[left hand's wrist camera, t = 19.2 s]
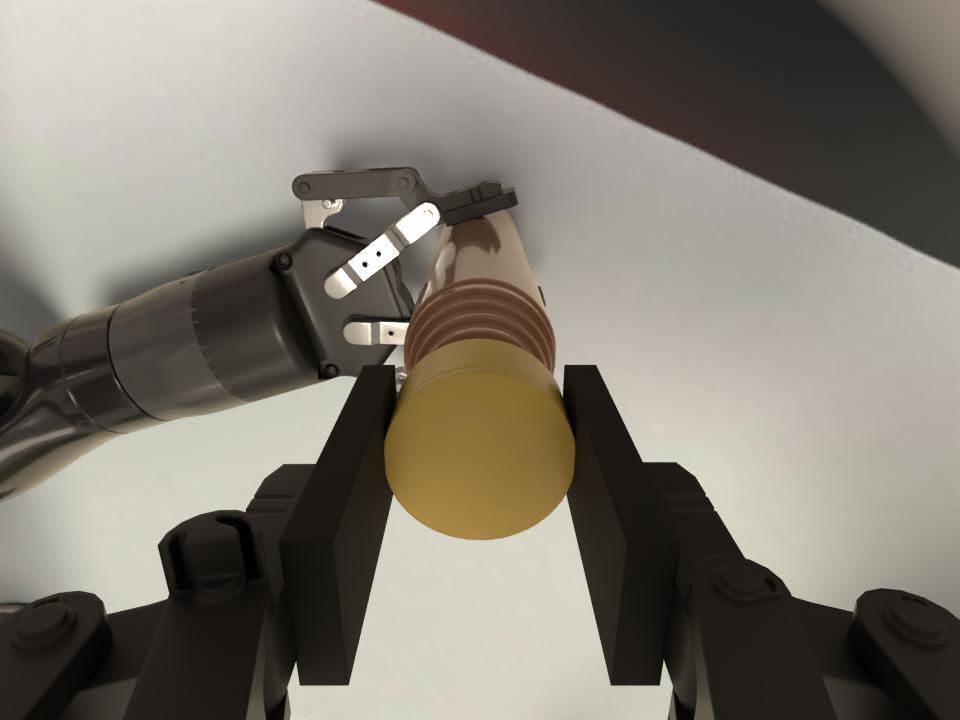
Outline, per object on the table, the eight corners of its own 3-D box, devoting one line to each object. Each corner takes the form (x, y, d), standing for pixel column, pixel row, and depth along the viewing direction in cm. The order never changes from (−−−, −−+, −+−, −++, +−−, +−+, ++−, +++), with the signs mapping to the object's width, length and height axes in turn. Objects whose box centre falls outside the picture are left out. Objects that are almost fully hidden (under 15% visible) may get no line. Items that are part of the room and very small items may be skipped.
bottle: (476, 292, 39) (471, 568, 15) (425, 236, 37) (327, 438, 13) (533, 243, 37) (630, 455, 13) (483, 183, 36) (490, 300, 12)
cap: (380, 350, 14) (364, 386, 12) (555, 326, 14) (567, 358, 12) (412, 497, 16) (402, 550, 14) (571, 478, 15) (584, 529, 13)
